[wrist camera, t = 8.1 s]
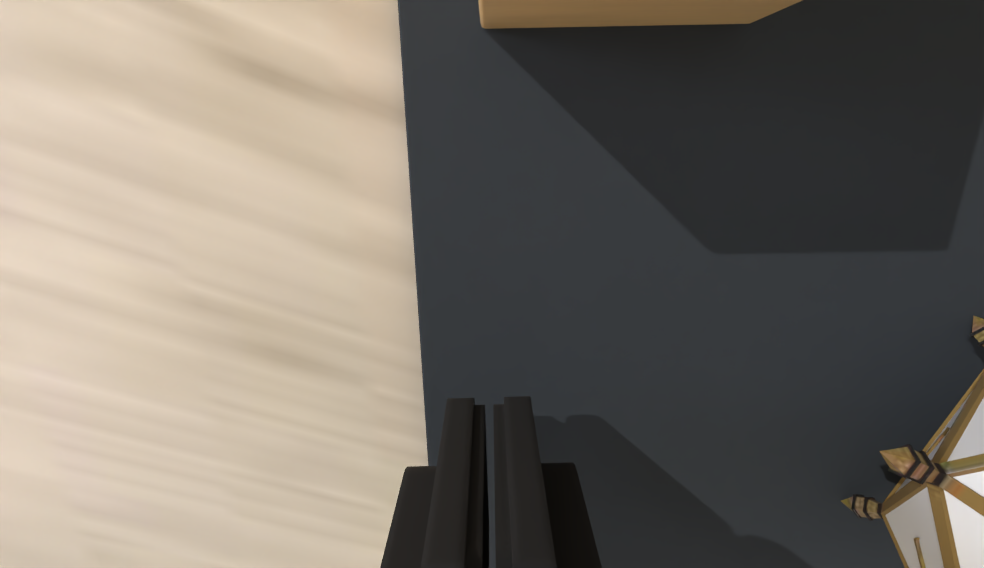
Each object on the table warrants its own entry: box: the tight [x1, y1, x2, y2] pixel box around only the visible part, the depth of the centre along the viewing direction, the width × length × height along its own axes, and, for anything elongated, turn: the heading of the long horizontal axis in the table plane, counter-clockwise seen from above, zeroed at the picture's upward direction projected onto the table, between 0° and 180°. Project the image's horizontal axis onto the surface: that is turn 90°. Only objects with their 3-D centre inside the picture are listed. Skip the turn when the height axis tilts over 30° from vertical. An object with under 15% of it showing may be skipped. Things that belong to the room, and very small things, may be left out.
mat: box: [398, 0, 984, 568], centre depth 9 cm, size 30×18×1 cm, turn 1°
